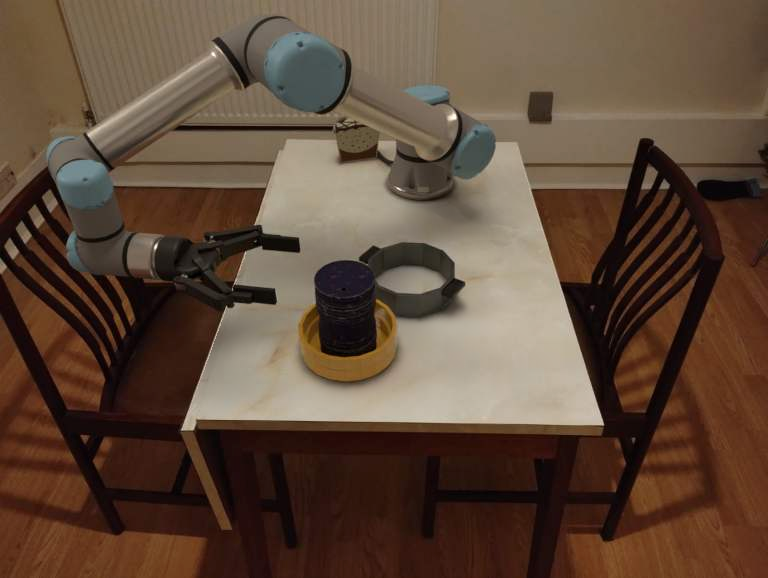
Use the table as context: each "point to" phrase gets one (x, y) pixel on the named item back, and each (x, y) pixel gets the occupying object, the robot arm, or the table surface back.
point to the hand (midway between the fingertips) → (288, 269)
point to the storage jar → (346, 308)
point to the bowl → (353, 365)
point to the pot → (413, 255)
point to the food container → (355, 140)
